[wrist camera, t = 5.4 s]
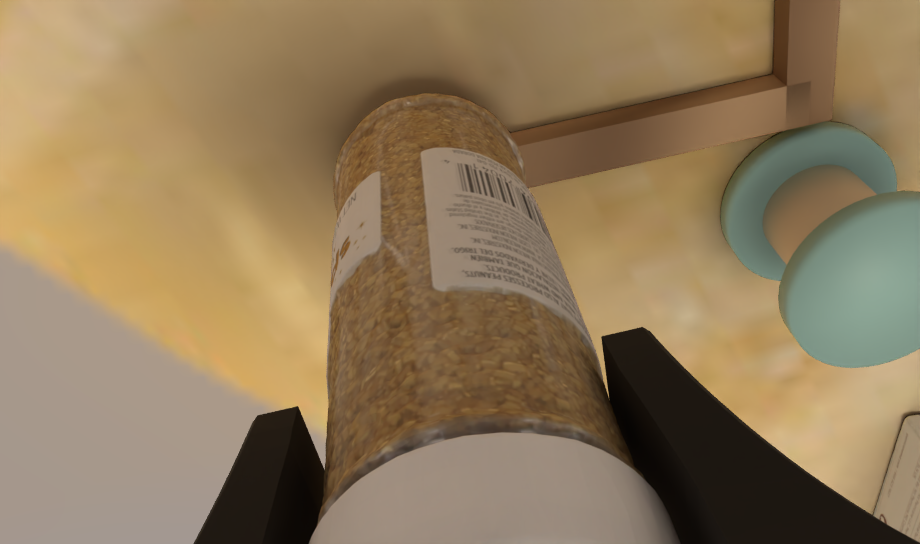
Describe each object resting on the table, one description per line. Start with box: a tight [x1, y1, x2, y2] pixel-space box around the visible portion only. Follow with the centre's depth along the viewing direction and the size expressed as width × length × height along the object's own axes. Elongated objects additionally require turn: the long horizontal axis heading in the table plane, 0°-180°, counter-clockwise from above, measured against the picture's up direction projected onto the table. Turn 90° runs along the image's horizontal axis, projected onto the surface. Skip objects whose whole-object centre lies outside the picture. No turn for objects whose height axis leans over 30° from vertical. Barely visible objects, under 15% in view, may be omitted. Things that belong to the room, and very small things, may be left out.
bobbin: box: [720, 121, 920, 368], centre depth 22 cm, size 5×5×4 cm
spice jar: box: [309, 93, 680, 544], centre depth 15 cm, size 5×5×13 cm
